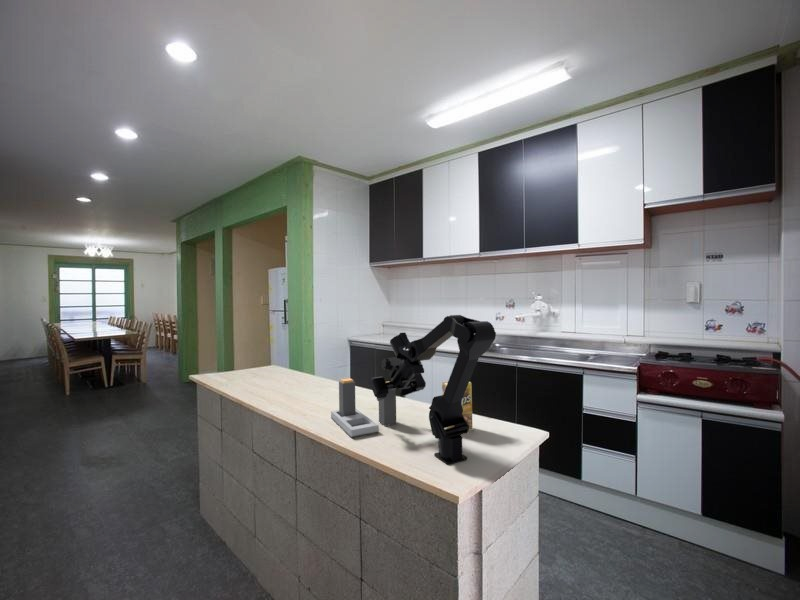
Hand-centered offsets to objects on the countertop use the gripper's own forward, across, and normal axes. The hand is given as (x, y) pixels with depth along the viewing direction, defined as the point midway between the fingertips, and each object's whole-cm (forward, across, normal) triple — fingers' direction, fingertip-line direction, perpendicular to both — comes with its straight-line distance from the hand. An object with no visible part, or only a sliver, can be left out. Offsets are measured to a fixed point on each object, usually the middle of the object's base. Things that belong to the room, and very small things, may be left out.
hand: (389, 397), depth 122 cm
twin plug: (+15, +10, -2) cm, 18 cm away
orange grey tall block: (+8, 0, +5) cm, 9 cm away
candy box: (-6, -15, +18) cm, 25 cm away
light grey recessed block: (+11, +11, +2) cm, 15 cm away
